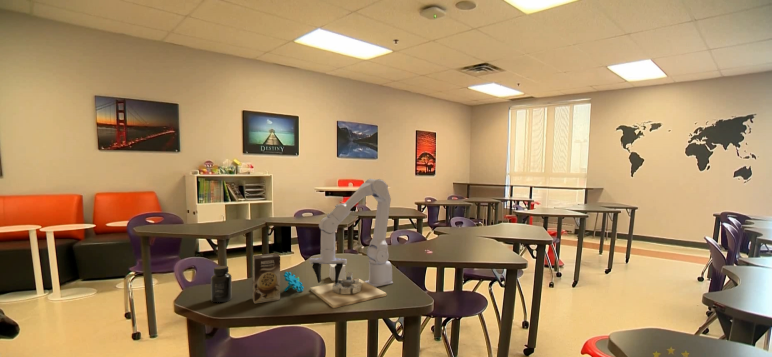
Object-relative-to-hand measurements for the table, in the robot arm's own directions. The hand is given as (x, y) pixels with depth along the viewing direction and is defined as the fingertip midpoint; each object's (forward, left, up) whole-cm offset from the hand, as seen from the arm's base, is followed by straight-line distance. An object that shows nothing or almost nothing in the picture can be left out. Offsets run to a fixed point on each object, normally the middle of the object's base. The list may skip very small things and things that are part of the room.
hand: (327, 282), depth 135 cm
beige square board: (-5, +6, -3) cm, 9 cm away
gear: (+11, -8, -4) cm, 14 cm away
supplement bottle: (+37, -12, -4) cm, 39 cm away
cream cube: (-10, -13, -4) cm, 17 cm away
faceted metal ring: (-7, +4, -2) cm, 8 cm away
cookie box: (+23, -4, -4) cm, 23 cm away
